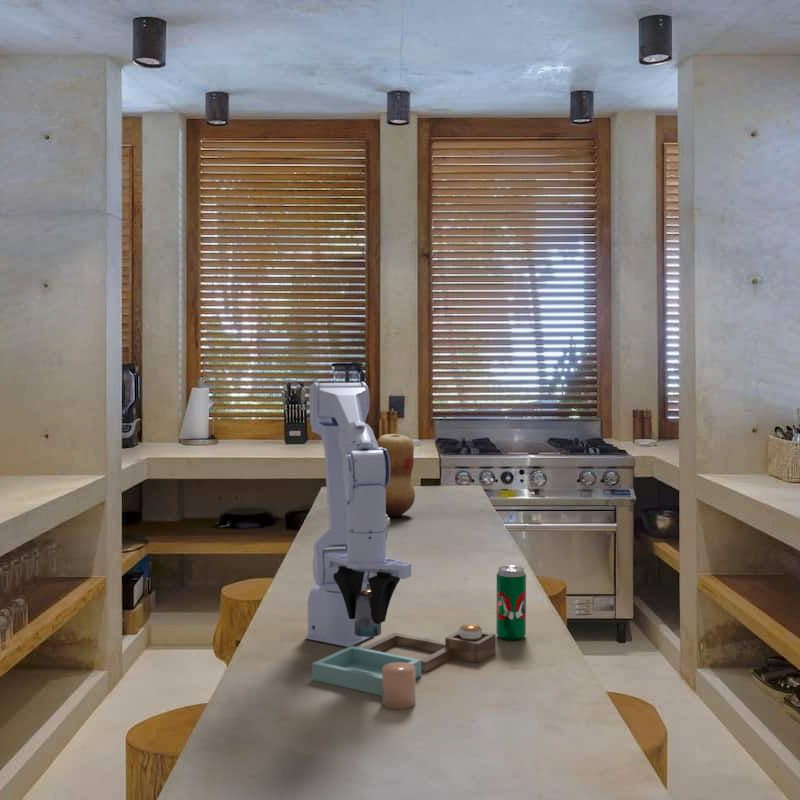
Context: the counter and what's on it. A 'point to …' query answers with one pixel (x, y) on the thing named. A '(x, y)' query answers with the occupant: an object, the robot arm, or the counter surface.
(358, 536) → the robot arm
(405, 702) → the peach glossy rounded part
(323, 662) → the teal tray
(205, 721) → the counter surface
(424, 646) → the cradle
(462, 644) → the square wooden box
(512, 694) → the counter surface
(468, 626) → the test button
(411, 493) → the butternut squash
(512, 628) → the soda can
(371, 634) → the cell
